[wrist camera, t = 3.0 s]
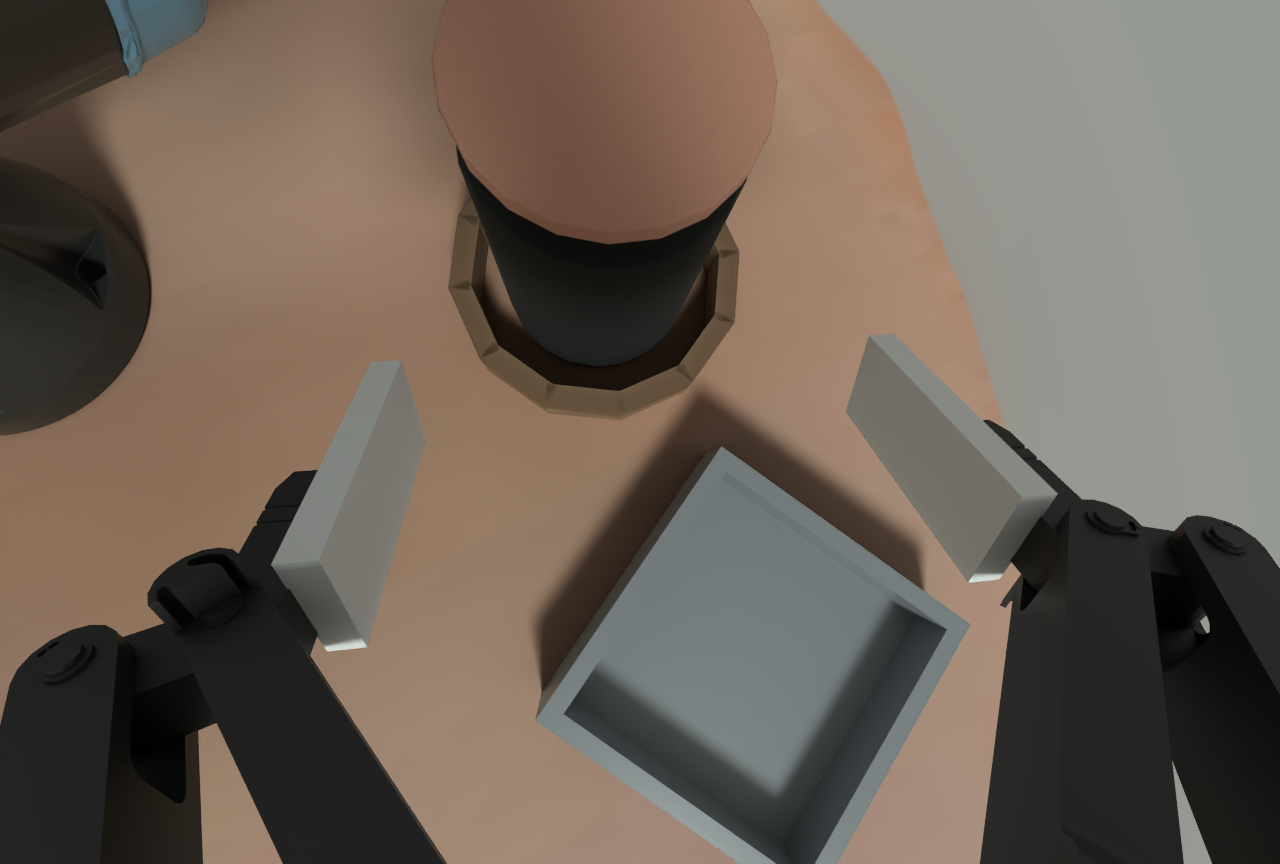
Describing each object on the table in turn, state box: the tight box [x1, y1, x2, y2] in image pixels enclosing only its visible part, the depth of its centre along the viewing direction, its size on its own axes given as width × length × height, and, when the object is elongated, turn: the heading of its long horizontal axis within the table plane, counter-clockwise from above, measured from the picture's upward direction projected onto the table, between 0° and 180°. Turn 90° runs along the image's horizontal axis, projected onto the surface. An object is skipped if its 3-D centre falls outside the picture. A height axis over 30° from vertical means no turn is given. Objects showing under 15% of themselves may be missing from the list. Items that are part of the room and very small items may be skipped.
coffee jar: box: [432, 0, 777, 367], centre depth 26 cm, size 11×11×18 cm
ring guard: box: [448, 199, 739, 420], centre depth 33 cm, size 16×16×3 cm
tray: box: [536, 446, 970, 864], centre depth 31 cm, size 17×17×4 cm
